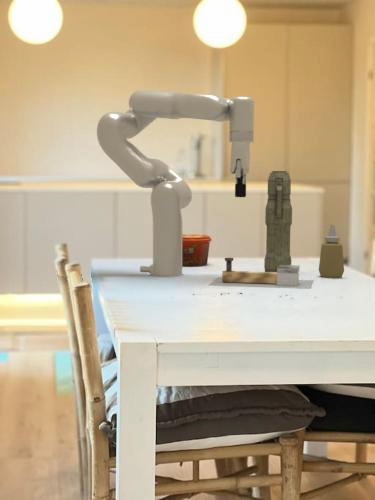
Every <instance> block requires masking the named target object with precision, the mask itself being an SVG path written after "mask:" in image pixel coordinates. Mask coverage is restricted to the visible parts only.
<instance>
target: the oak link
mask: <svg viewBox="0 0 375 500" xmlns="http://www.w3.org/2000/svg"><path fill="white" fill-rule="evenodd" d="M224 261H225V262H226V265H225V267H226V268H225V269H226V270H223V271H222V273H221V274H222V275H221V277H222V281H223V282H245V283H272V284H277V272H265V271H244V270H243V271H242V270H241V271H240V270H233V267H232V264H233V263H232V262H233V261H234V257H224ZM299 278H300V274H299V272H298V283H299V280H300V279H299Z"/></svg>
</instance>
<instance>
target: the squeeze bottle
mask: <svg viewBox="0 0 375 500" xmlns="http://www.w3.org/2000/svg"><path fill="white" fill-rule="evenodd" d="M320 247H321V248H320V256H319V265H318V272H319V273H318V274H319V276H320V278H323V279H324V278H325V279H341V278H342V277H343V275H344V272H345V265H344V262H345V261H344V252H343V249H344V248H343V245H342V243H340V236H337V233H336V227H335V225H332V224H331V225H330V227H329V231H328V234H327V236H324V242H323V243H322V244H321V246H320Z"/></svg>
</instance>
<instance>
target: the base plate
mask: <svg viewBox="0 0 375 500" xmlns="http://www.w3.org/2000/svg"><path fill="white" fill-rule="evenodd" d="M313 283H314V279H313V280H312V279H299V283H298V286H277V284H272V283H245V282H223V281H222V276H218V277H217V278H215V279H214V280H212V282H210V283H208V286H213V287H214V286H217V287H244V288H245V287H246V288H275V289H276V288H277V289H298V290H299V289H300V290H301V289H302V290H305V289H306V290H311V287H312V285H313Z"/></svg>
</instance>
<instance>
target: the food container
mask: <svg viewBox="0 0 375 500" xmlns="http://www.w3.org/2000/svg"><path fill="white" fill-rule="evenodd" d="M211 242H212V238H211V236H210V235H207V234H182V267H203V266H204V265H205V266H207V265H208V259H209V252H210V244H211ZM205 266H204V267H205Z"/></svg>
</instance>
